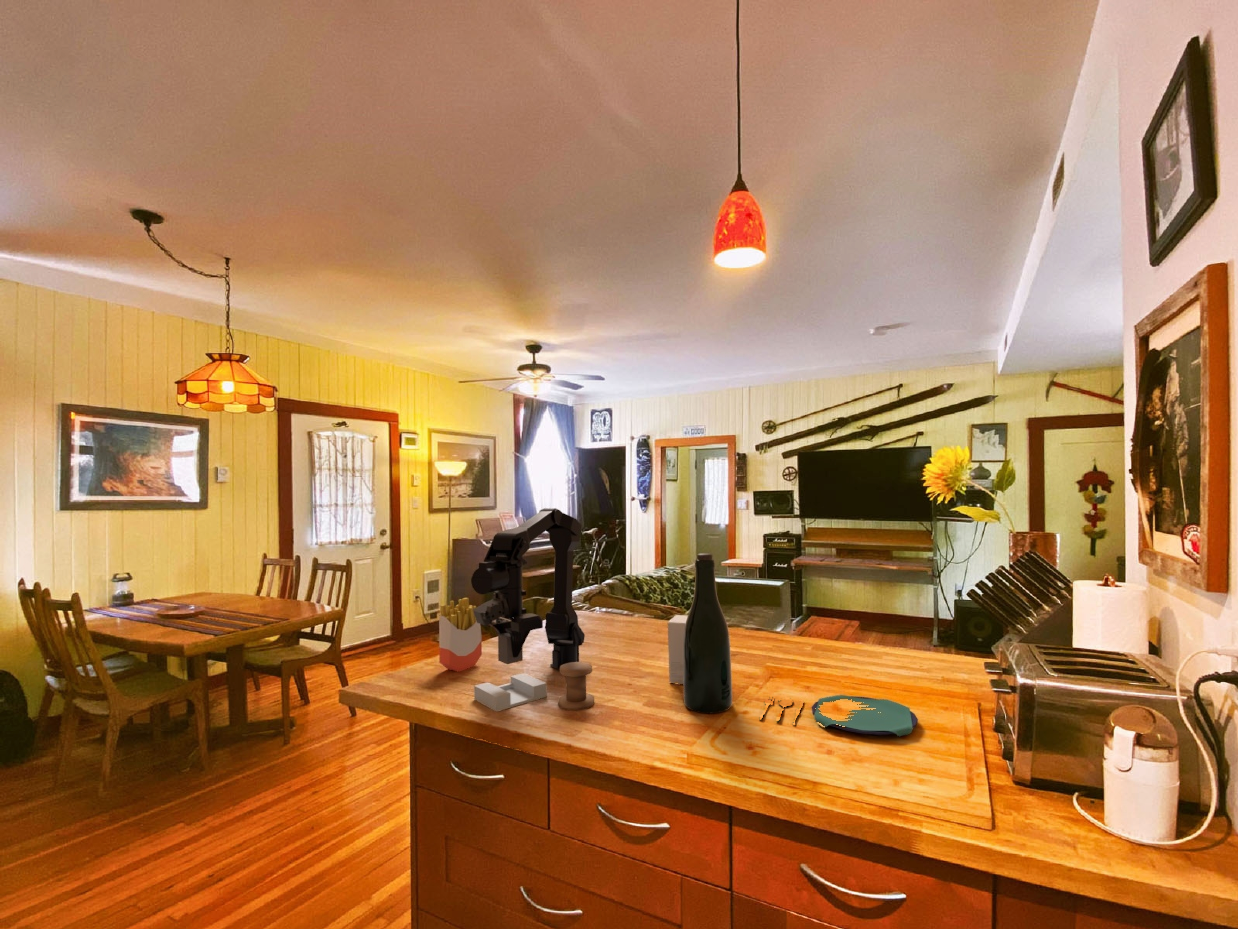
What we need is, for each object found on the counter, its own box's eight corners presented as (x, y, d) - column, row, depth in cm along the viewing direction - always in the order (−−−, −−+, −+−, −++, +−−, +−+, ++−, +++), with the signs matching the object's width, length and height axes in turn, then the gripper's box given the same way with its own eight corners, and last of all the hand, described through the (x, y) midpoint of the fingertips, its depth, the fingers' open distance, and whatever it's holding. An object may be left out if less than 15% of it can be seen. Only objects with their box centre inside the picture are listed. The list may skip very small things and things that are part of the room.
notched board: (523, 686, 141) (523, 673, 141) (546, 696, 133) (546, 683, 133) (474, 699, 132) (474, 685, 132) (496, 711, 125) (496, 697, 125)
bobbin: (579, 694, 134) (579, 659, 135) (601, 703, 128) (601, 667, 129) (551, 703, 129) (550, 666, 129) (572, 713, 123) (572, 675, 123)
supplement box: (711, 675, 146) (710, 616, 147) (705, 687, 138) (703, 624, 138) (676, 672, 149) (675, 613, 150) (668, 684, 140) (667, 621, 141)
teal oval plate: (922, 750, 104) (921, 736, 104) (754, 727, 116) (753, 715, 116) (915, 711, 122) (914, 700, 122) (770, 695, 134) (770, 685, 134)
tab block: (513, 657, 136) (513, 631, 136) (522, 660, 133) (522, 634, 133) (498, 660, 133) (498, 634, 133) (507, 664, 130) (507, 637, 130)
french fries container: (482, 664, 159) (482, 598, 159) (450, 675, 150) (450, 605, 151) (471, 661, 161) (471, 596, 162) (439, 672, 153) (438, 603, 153)
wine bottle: (702, 718, 119) (698, 557, 120) (674, 702, 128) (671, 552, 130) (742, 709, 124) (738, 554, 125) (712, 694, 133) (709, 549, 135)
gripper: (459, 586, 135) (459, 654, 135) (499, 597, 121) (499, 672, 121) (501, 580, 143) (501, 644, 142) (543, 590, 129) (544, 661, 128)
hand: (510, 655), depth 133 cm, fingers closed on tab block, 4 cm apart
